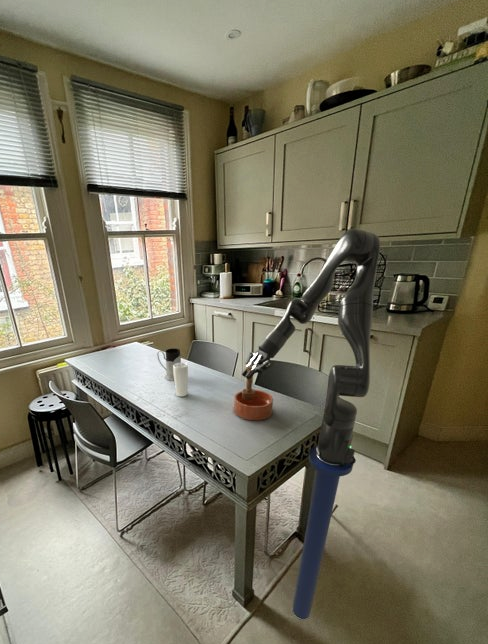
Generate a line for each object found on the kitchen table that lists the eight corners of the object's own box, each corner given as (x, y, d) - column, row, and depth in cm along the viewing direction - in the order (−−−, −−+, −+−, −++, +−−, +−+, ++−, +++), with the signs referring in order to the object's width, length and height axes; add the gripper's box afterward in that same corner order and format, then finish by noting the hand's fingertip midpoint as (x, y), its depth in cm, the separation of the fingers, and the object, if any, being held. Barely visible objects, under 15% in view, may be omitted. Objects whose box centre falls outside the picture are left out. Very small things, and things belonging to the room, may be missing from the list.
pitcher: (176, 381, 164) (175, 354, 157) (154, 377, 170) (152, 350, 164) (185, 375, 170) (184, 349, 164) (163, 371, 177) (161, 345, 171)
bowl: (277, 409, 134) (279, 395, 132) (261, 425, 124) (262, 411, 121) (245, 399, 143) (246, 386, 141) (227, 413, 133) (227, 400, 130)
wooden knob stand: (256, 396, 133) (258, 365, 127) (250, 401, 129) (252, 370, 123) (245, 393, 136) (247, 363, 130) (239, 398, 132) (241, 367, 126)
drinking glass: (175, 391, 154) (174, 362, 147) (189, 391, 153) (188, 362, 146) (173, 397, 148) (171, 367, 141) (187, 398, 147) (186, 368, 140)
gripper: (288, 354, 122) (259, 388, 124) (267, 344, 134) (241, 375, 136) (278, 343, 118) (248, 378, 120) (257, 333, 130) (231, 366, 132)
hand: (245, 376), depth 128 cm, fingers closed on wooden knob stand
